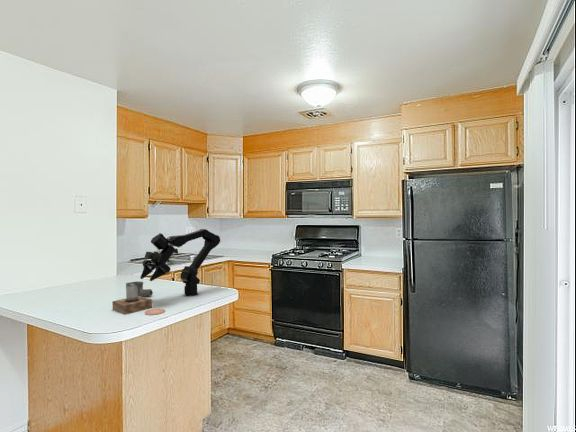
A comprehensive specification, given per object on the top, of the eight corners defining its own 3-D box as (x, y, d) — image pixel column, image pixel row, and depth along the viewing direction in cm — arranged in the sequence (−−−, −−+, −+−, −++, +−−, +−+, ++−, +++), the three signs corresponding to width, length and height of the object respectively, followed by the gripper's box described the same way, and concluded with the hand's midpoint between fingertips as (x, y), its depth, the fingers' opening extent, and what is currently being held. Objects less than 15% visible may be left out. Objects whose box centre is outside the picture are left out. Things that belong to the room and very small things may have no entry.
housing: (138, 303, 176) (138, 295, 176) (151, 307, 168) (151, 299, 168) (112, 309, 166) (112, 301, 166) (125, 314, 158) (125, 305, 158)
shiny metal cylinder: (138, 306, 170) (137, 281, 170) (137, 309, 166) (136, 283, 165) (127, 307, 169) (126, 282, 168) (126, 310, 164) (125, 284, 164)
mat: (152, 308, 166) (152, 308, 166) (169, 309, 164) (169, 309, 164) (140, 314, 157) (140, 313, 157) (157, 315, 155) (157, 314, 155)
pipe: (148, 298, 187) (147, 283, 187) (127, 297, 190) (127, 283, 189) (154, 295, 193) (154, 281, 193) (134, 294, 196) (134, 280, 195)
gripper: (145, 244, 182) (125, 268, 174) (164, 246, 170) (143, 271, 162) (159, 257, 188) (140, 281, 180) (178, 260, 177) (159, 285, 168)
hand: (145, 279), depth 172 cm, fingers open, 9 cm apart
